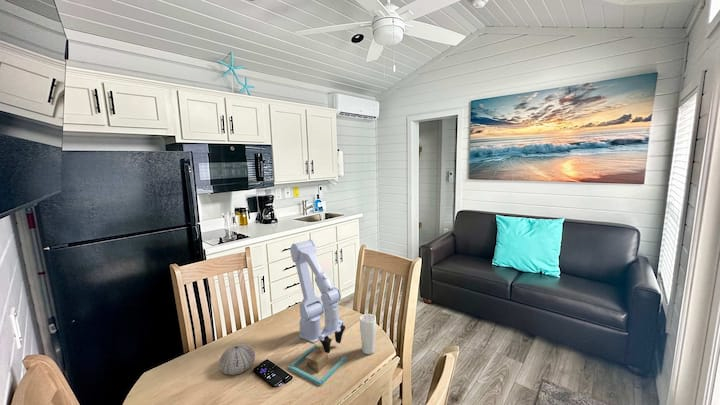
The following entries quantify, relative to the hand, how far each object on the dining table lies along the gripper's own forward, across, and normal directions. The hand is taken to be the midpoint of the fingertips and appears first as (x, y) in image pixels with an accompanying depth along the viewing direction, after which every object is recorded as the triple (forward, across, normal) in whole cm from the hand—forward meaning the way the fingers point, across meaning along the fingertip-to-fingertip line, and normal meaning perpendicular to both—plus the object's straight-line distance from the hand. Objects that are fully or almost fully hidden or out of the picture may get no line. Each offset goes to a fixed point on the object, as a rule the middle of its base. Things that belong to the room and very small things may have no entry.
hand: (332, 347), depth 123 cm
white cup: (+2, +8, -13) cm, 15 cm away
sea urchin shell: (+2, -26, +27) cm, 38 cm away
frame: (+2, -10, 0) cm, 10 cm away
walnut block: (+2, -10, 0) cm, 10 cm away
